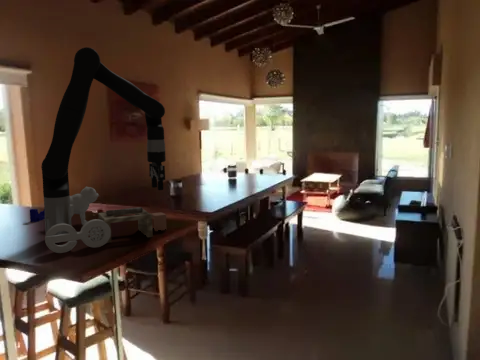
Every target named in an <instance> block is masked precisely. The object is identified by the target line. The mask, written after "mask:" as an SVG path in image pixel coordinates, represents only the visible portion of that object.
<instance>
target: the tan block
mask: <svg viewBox="0 0 480 360" xmlns="http://www.w3.org/2000/svg"><path fill="white" fill-rule="evenodd" d="M150 214H152V230H154V231H153V232H159V231H158V230H161V231H166V230H167V214H166V213H164V212H162V211H161V212H153V213H150ZM153 228H154V229H153ZM165 229H166V230H165Z"/></svg>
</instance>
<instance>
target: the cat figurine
mask: <svg viewBox="0 0 480 360" xmlns="http://www.w3.org/2000/svg"><path fill="white" fill-rule="evenodd" d="M98 197H101V196H100V195H99V193H98V192H97V191H96V189H95V188H94V187H91V186H85V187H84V188H83V189H81V190H80V192H79V193H75V194H72V195H70V209H71V219H72V218H73V216H75V215H79V218H80V221H81V225H82V226H83V225H84V224H85V223H86V222H88V220H86V213H87V211H88V209H89V207H90V205H91V204H92V203H94V202H96V201H97V199H98ZM42 221H45V219H43V220H42ZM71 226H72V227H73V225H72V224H71Z"/></svg>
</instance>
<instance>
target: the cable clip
mask: <svg viewBox="0 0 480 360" xmlns="http://www.w3.org/2000/svg"><path fill="white" fill-rule="evenodd" d="M43 219H45V210H44V209H43V210H42V211H39V210H38V208H30V209H29V220H30V221H31V223H37V222H40V221H44V220H43Z"/></svg>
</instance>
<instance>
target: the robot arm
mask: <svg viewBox="0 0 480 360" xmlns="http://www.w3.org/2000/svg"><path fill="white" fill-rule="evenodd" d="M100 57H101V56H100V54H99V53H98V51H96V50H95V48H92V47H82V48H80V49H78V50H77V51H76V52H75V54H74V59H73V67H72V72H71V76H70V79H69V83H68V85H67V87H66V89H65V91H64V94H63V95H62V98H61V101H60V104H59V107H58V109H57V113H56V115H55V116H56V117H55V122H54V126H53V133H52V139H51V142H50V145H49V148H48V150H47V153H46V155H45V157H44V158H43V160H42V162H41V166H40V167H41V174H42V175H41V177H42V194H43V195H42V196H43V211H44V210H45V220H44V229H45V234H46V233H47V231H48V230H49V229H50V228H51V227H52V226H54V225H56V224H61V223H65V224H68V225H72V218H71V209H70V196H71V195H70V194H71V193H70V184H69V164H70V159H71V153H72V149H73V146H74V144H75V141H76V140H77V139H76V138H77V137H78V134H79V132H80V130H81V126H82V124H83V121H84V118H85V115H86V111H87V105H88V101H89V98H90V97H89V96H90V90H91V87H92V84H93V81H94V80H95V81H97V82H99V83H100V84H102V85H104V86H105V87H107V88H109V89H110V90H111V91H112V92H114V93H115V94H116V95H118V96H119V97H120V98H122V99H123V101H124V100H125V101H126V102H127V103H128V104H130V105H131V106H134V107H136V108H138V109H140V110H141V111H142V112H144V117H145V123H146V138H147V140H146V156H147V157H146V158H147V159H146V160H147V162H148V163H149V164H148V165H149V166H148V167H149V168H148V169H149V173H148V174H149V175H148V176H149V177H150V179H151V188H157V190H158V191H163V190H164V181H165V180H166V169H165V167H166V166H165V165H162V163H164V162H166V157H167V156H166V143H165V130H164V129H165V128H164V127H163V121H162V118H164V116H165V114H166V109H165V106H164V105H163V104H162V103H161V102H160V101H158V100H157V99H156V98H154V97H152V96H150V95H149V94H147V93H145V92H144V91H143V90H141V89H140V88H139V87H138V86H136V85H135V84H134V83H132V82H131V81H129V80H127V79H125V78H124V77H122V76H121V75H118V74H117V73H115V72H113V71H112V70H110V69H109V68H108V67H107V66H105V64H103V63H102V62H101V58H100ZM67 233H68V232H67V231H59V232H57V233H56V234H55V235H60V234H67ZM49 236H53V235H49Z"/></svg>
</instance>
